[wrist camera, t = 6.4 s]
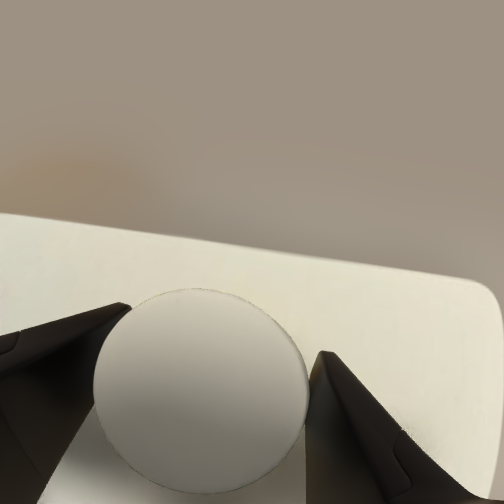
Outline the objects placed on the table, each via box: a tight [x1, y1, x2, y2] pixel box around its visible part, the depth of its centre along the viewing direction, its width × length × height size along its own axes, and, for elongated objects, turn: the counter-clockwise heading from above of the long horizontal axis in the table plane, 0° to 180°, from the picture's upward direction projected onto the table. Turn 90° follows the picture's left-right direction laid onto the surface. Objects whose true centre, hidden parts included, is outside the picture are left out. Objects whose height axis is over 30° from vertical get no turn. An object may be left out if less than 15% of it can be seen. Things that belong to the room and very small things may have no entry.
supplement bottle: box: [93, 289, 310, 494], centre depth 9 cm, size 5×5×10 cm
